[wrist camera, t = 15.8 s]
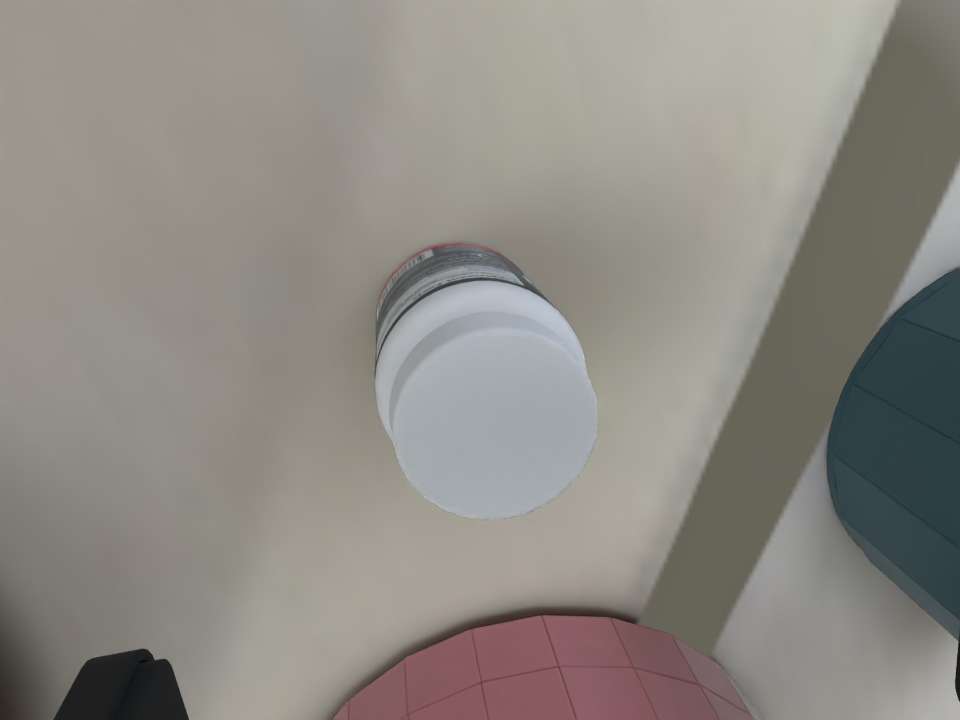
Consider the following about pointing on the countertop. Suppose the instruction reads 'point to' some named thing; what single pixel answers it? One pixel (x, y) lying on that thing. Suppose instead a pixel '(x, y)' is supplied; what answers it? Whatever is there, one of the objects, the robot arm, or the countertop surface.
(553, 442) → the pill bottle
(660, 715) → the bowl
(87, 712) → the robot arm
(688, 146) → the countertop surface
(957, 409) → the pot
